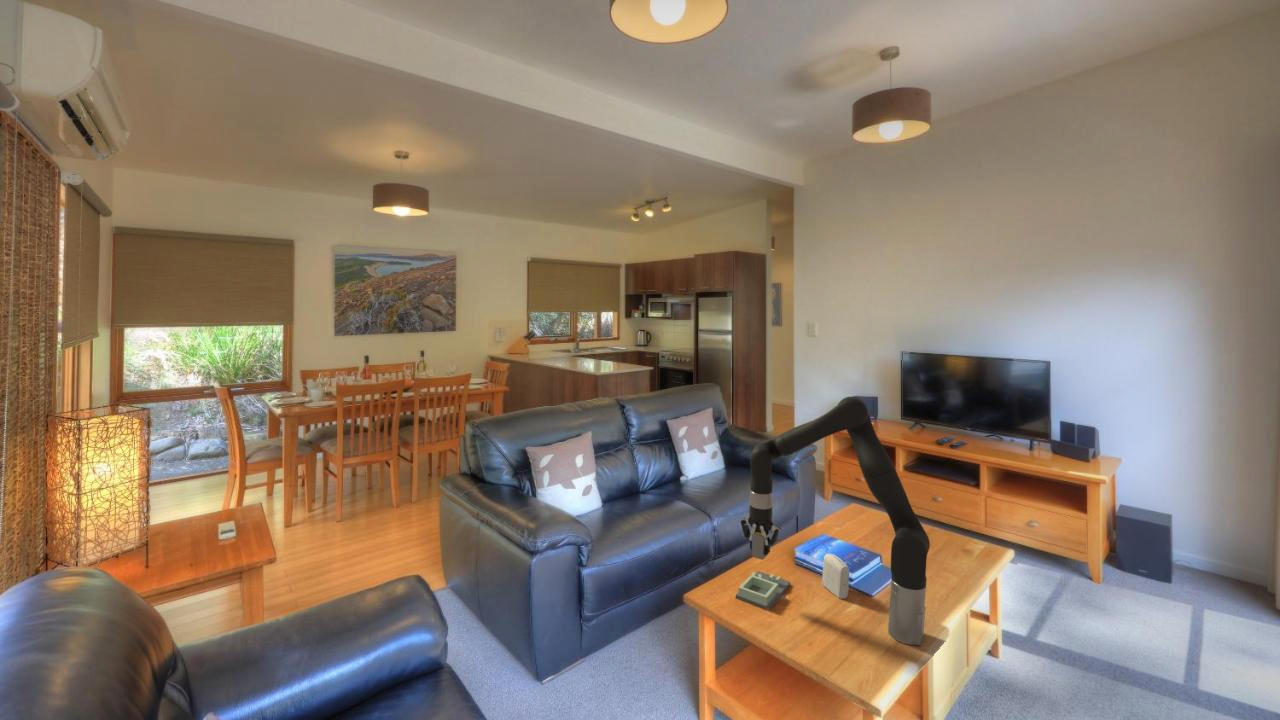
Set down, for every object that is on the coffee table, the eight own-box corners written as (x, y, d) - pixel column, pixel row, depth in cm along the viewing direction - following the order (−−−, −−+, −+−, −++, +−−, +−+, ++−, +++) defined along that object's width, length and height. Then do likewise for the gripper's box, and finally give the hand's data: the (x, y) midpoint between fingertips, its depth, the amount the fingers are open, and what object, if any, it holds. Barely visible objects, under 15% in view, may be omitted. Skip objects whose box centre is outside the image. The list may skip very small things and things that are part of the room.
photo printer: (850, 598, 175) (851, 563, 173) (839, 600, 173) (841, 565, 172) (830, 582, 184) (832, 549, 183) (820, 584, 183) (821, 551, 182)
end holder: (777, 592, 176) (778, 584, 176) (766, 606, 168) (766, 597, 168) (750, 582, 182) (751, 574, 181) (738, 595, 174) (738, 587, 173)
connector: (767, 555, 174) (768, 531, 173) (762, 559, 170) (763, 535, 169) (756, 551, 176) (757, 527, 175) (751, 556, 173) (752, 532, 172)
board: (790, 584, 183) (790, 575, 182) (769, 610, 167) (769, 600, 167) (758, 574, 190) (758, 564, 189) (735, 598, 175) (735, 587, 174)
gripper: (785, 505, 170) (784, 554, 172) (746, 495, 178) (744, 542, 180) (777, 512, 164) (775, 563, 166) (736, 502, 172) (735, 550, 174)
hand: (759, 552), depth 173 cm, fingers closed on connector, 4 cm apart
